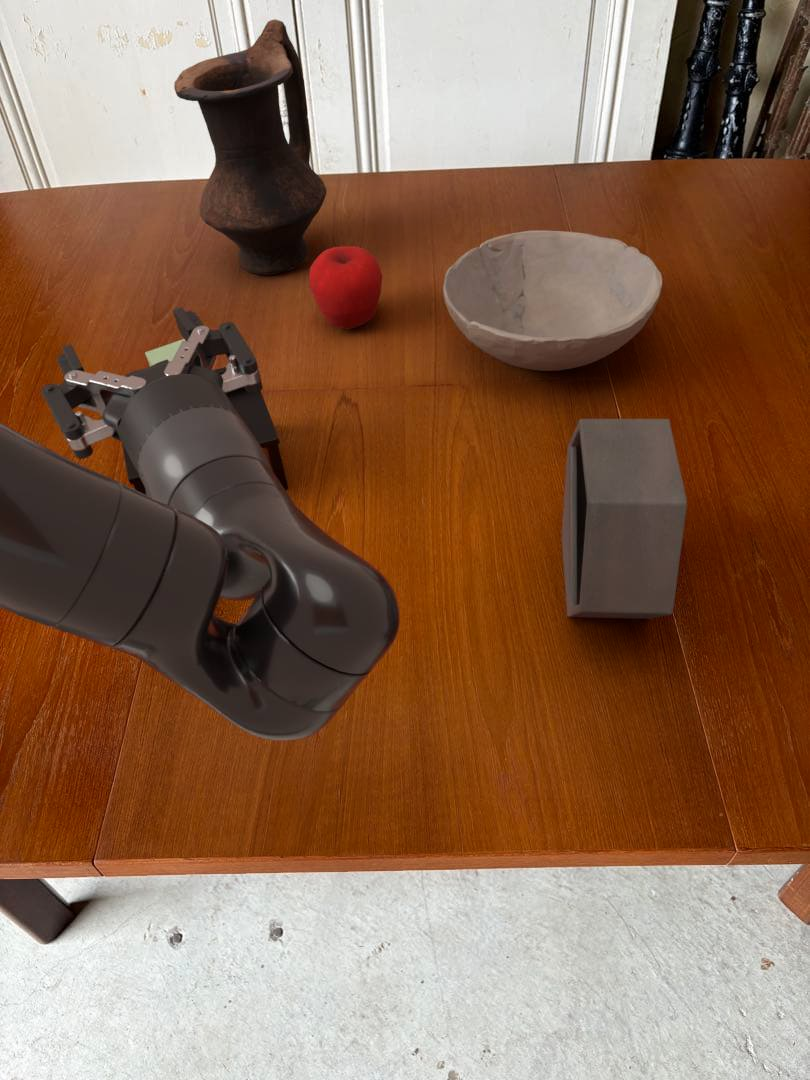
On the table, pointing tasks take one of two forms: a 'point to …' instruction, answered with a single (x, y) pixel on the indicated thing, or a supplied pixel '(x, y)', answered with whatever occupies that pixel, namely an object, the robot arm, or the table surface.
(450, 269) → the bowl
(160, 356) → the block
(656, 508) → the grey open box
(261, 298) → the table surface
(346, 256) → the apple
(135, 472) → the bench
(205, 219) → the jug
